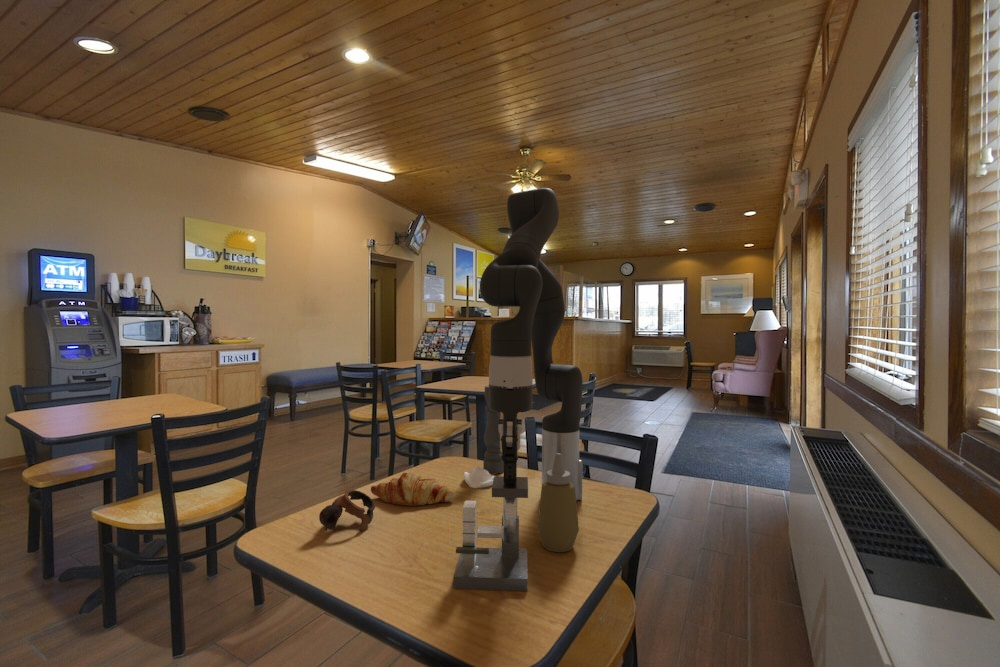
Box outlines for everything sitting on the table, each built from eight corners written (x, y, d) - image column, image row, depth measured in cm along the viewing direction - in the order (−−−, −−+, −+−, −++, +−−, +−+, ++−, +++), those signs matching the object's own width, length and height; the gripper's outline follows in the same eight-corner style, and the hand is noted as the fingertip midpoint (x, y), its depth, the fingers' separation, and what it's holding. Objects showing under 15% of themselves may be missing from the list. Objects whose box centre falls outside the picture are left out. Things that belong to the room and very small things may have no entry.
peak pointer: (488, 551, 78) (488, 547, 78) (488, 554, 77) (488, 550, 77) (456, 550, 78) (456, 546, 78) (455, 553, 77) (455, 549, 77)
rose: (453, 467, 126) (478, 459, 133) (453, 483, 126) (478, 474, 133) (479, 475, 119) (504, 467, 126) (479, 492, 119) (504, 483, 126)
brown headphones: (343, 515, 105) (361, 485, 104) (368, 544, 100) (387, 511, 100) (300, 521, 94) (321, 487, 94) (326, 553, 89) (348, 517, 89)
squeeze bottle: (552, 560, 84) (552, 462, 84) (529, 541, 91) (529, 451, 91) (587, 550, 88) (588, 456, 88) (562, 533, 95) (563, 446, 95)
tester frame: (527, 559, 84) (527, 494, 84) (527, 591, 74) (527, 517, 74) (461, 557, 85) (462, 493, 85) (453, 588, 75) (454, 515, 75)
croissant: (456, 511, 115) (460, 478, 118) (450, 507, 106) (453, 471, 109) (374, 506, 116) (379, 474, 120) (360, 501, 107) (367, 466, 111)
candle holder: (505, 467, 139) (505, 385, 138) (503, 474, 132) (503, 388, 132) (484, 467, 139) (485, 384, 139) (481, 473, 133) (482, 387, 133)
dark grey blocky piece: (527, 532, 82) (527, 477, 82) (527, 549, 76) (527, 489, 76) (480, 531, 83) (480, 476, 82) (477, 547, 77) (477, 487, 76)
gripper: (491, 377, 86) (491, 469, 86) (485, 386, 72) (485, 496, 73) (531, 377, 85) (531, 470, 86) (533, 387, 72) (532, 497, 72)
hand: (510, 482), depth 79 cm, fingers closed
